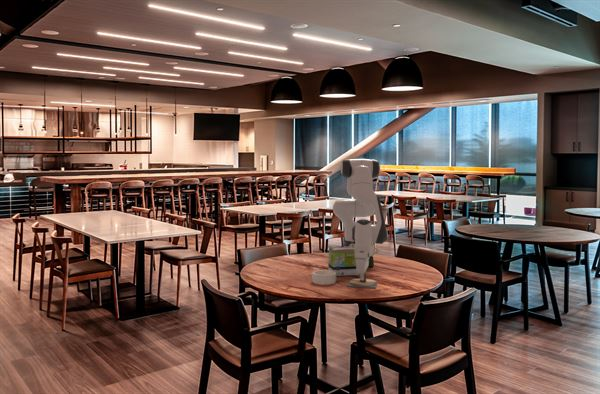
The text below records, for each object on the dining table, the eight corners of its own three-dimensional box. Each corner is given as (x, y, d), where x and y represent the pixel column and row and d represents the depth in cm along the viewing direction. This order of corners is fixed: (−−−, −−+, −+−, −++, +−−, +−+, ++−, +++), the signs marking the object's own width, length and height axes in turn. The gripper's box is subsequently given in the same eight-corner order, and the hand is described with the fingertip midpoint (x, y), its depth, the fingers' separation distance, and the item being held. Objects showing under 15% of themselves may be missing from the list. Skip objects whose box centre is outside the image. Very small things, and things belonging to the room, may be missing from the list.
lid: (351, 279, 267) (352, 270, 267) (376, 280, 264) (377, 271, 264) (348, 285, 255) (348, 275, 254) (374, 286, 251) (374, 277, 251)
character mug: (378, 265, 304) (378, 243, 303) (377, 268, 297) (378, 245, 296) (359, 264, 306) (360, 243, 305) (358, 267, 299) (359, 245, 298)
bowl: (315, 278, 271) (315, 269, 271) (337, 280, 269) (337, 270, 268) (310, 284, 260) (310, 274, 259) (333, 285, 257) (333, 275, 257)
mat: (351, 280, 268) (351, 278, 268) (378, 281, 264) (378, 280, 264) (346, 286, 254) (347, 285, 254) (375, 288, 251) (375, 287, 251)
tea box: (334, 276, 275) (334, 249, 274) (328, 272, 285) (328, 246, 283) (360, 275, 279) (360, 248, 278) (353, 271, 289) (353, 245, 287)
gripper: (359, 248, 269) (359, 273, 270) (354, 255, 249) (353, 283, 250) (371, 248, 267) (371, 274, 268) (367, 256, 247) (366, 284, 249)
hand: (362, 278), depth 259 cm, fingers closed on lid, 3 cm apart
